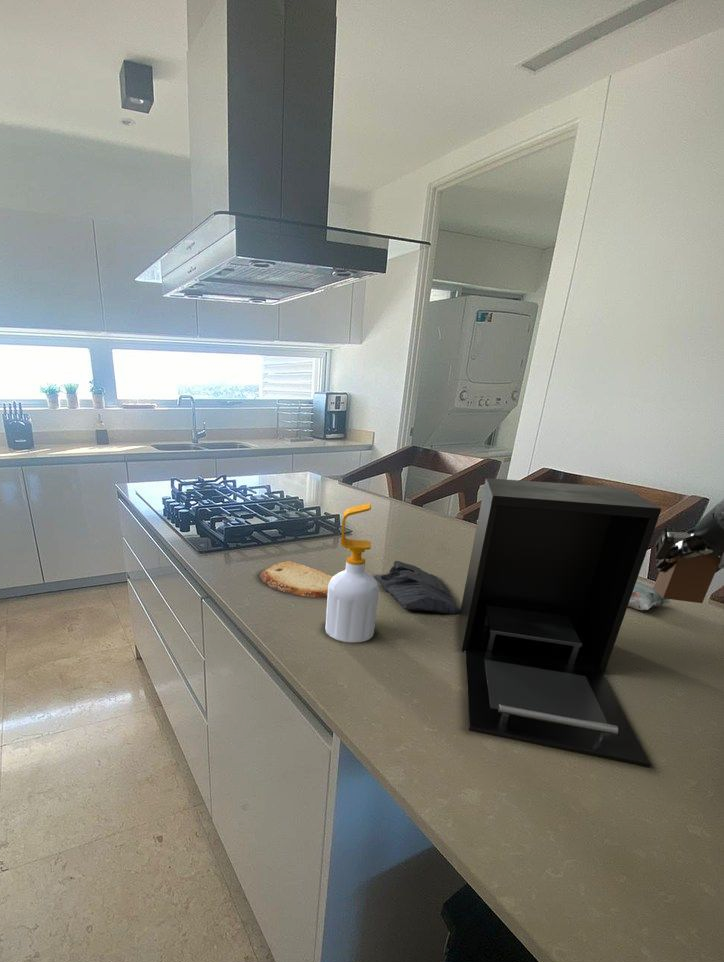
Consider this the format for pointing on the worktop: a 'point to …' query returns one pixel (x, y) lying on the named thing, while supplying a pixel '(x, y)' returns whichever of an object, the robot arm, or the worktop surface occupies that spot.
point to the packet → (687, 579)
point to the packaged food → (645, 598)
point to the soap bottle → (352, 592)
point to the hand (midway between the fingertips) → (681, 568)
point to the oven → (553, 612)
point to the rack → (531, 627)
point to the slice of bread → (297, 579)
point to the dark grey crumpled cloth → (417, 589)
